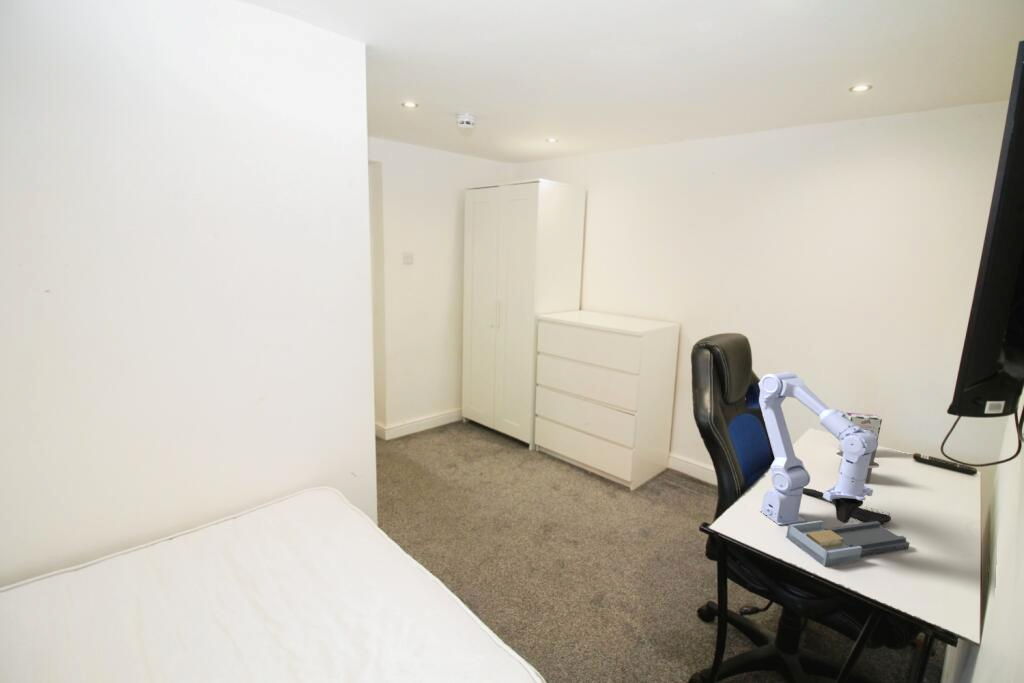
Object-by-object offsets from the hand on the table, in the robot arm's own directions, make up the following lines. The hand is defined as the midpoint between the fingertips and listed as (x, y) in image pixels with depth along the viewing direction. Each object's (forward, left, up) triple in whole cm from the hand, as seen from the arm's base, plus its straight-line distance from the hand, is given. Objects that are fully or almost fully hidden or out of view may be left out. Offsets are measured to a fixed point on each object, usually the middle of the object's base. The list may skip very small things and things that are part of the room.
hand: (842, 520), depth 123 cm
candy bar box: (+65, +47, -8) cm, 81 cm away
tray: (-5, 0, -8) cm, 9 cm away
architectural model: (+44, +31, -8) cm, 55 cm away
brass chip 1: (-7, 0, -6) cm, 9 cm away
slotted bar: (+10, 0, -8) cm, 13 cm away
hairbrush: (+20, +16, -9) cm, 27 cm away
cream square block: (-3, 0, -6) cm, 7 cm away
